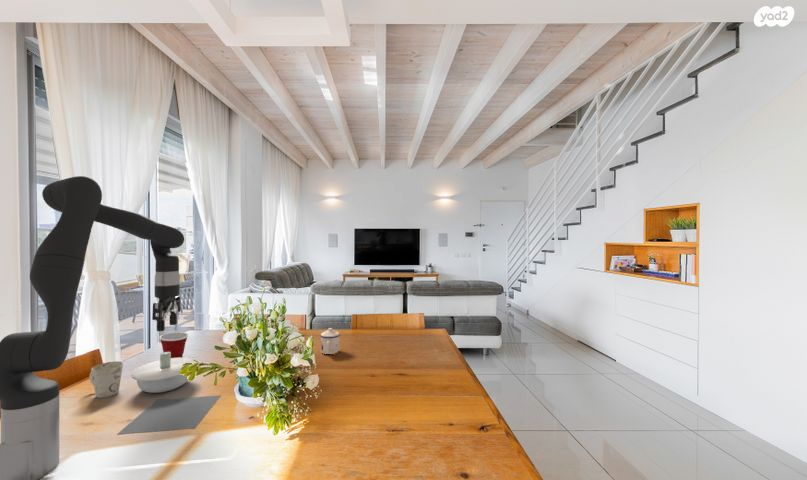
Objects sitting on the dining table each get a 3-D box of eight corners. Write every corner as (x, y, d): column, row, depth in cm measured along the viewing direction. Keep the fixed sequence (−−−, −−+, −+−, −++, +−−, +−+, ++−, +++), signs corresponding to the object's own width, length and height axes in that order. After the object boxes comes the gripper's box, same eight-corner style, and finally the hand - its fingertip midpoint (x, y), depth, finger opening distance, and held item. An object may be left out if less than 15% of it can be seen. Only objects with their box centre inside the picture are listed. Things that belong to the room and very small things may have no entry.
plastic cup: (174, 367, 141) (174, 339, 141) (152, 365, 143) (152, 338, 143) (194, 358, 152) (194, 332, 152) (173, 356, 154) (173, 330, 153)
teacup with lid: (322, 349, 166) (322, 325, 166) (340, 349, 167) (340, 325, 166) (317, 358, 154) (317, 332, 154) (337, 357, 155) (337, 332, 155)
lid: (181, 379, 114) (181, 361, 114) (118, 382, 111) (118, 364, 111) (204, 358, 133) (204, 343, 133) (151, 361, 130) (151, 346, 130)
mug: (104, 400, 113) (104, 371, 113) (75, 396, 115) (75, 368, 115) (129, 389, 121) (129, 362, 121) (101, 386, 123) (101, 359, 123)
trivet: (195, 430, 96) (195, 428, 96) (116, 436, 93) (116, 434, 93) (220, 397, 116) (220, 395, 116) (157, 401, 113) (157, 399, 113)
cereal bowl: (146, 382, 127) (146, 363, 127) (197, 376, 133) (197, 358, 133) (128, 403, 111) (128, 382, 111) (186, 395, 117) (186, 375, 117)
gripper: (168, 286, 116) (168, 332, 116) (187, 280, 130) (187, 322, 130) (144, 286, 114) (144, 333, 114) (166, 281, 128) (166, 323, 128)
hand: (167, 327), depth 122 cm, fingers open, 8 cm apart
